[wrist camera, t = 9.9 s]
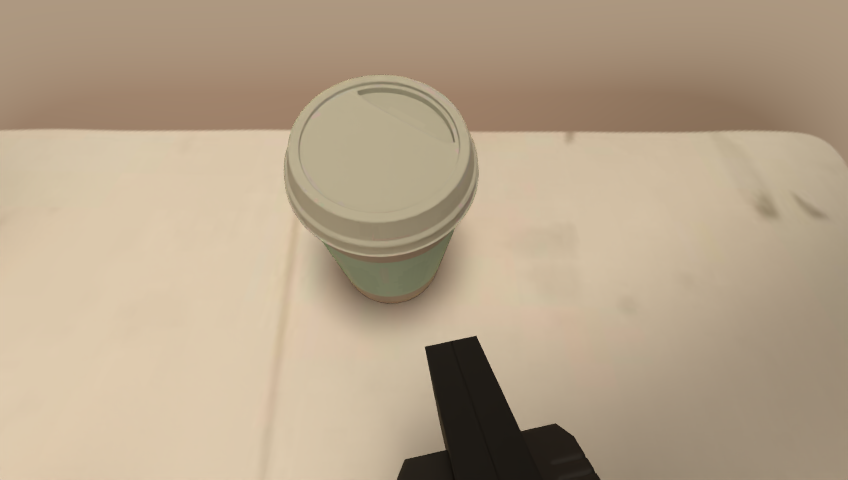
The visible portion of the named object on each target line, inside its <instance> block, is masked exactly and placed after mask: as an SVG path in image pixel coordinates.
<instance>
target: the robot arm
mask: <svg viewBox="0 0 848 480" xmlns="http://www.w3.org/2000/svg"><path fill="white" fill-rule="evenodd" d="M425 350H426V355H427V360H428V365H429V370H430V375H431V380H432V385H433V390H434V395H435V400H436V406H437V411H438V416H439V421H440V426H441V430H442V435H443V439H444V444H445V448H446V450H444V451H440V452H436V453H431V454H427V455H423V456H418V457H414V458H410V459H405V460H404V463H403V465H402V468H401V471H400V473H399V476H398V478H397V480H600V478H599V477H598V475H597V473H595V471H594V469H593V467H592V465H591V464H590V462H589V460H588V459H587V458H586V457H585V454H584V452H583V451H582V449H581V447H580V446H579V444H578V443H577V441H576V439H575V438H574V436H572V435H571V434H570V433H568V432H567V431H565V430H564V429H563V428H561V427H560V426H559V425H557V424H556V423H555V424H551V425H547V426H542V427H538V428H534V429H529V430H525V431H520V429H519V427H518V425H517V422H516V420H515V418H514V416H513V414H512V412H511V410H510V407H509V405H508V403H507V401H506V399H505V397H504V395H503V392H502V390H501V388H500V386H499V384H498V382H497V379H496V377H495V375H494V373H493V371H492V369H491V367H490V364H489V362H488V360H487V358H486V356H485V354H484V351H483V349H482V347H481V345H480V343H479V341H478V339H477V336H473V337H469V338H464V339H459V340H455V341H450V342H445V343H441V344H436V345H432V346H427V347H425Z"/></svg>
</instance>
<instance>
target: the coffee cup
mask: <svg viewBox="0 0 848 480" xmlns="http://www.w3.org/2000/svg"><path fill="white" fill-rule="evenodd" d="M478 177H479V170H478V159H477V153H476V148H475V145H474V142H473V139H472V137H471V135H470V133H469V131H468V129H467V126H466V123H465V121H464V119H463V117H462V116H461V114H460V112H459V111H458V109H457V108H456V107H455V106H454V105H453V103H452V102H451V101H450V100H449V99H447V98H446V97H445V96H444V95H443V94H441V93H440V92H439V91H437V90H435V89H434V88H432V87H430V86H428V85H426V84H424V83H422V82H419V81H416V80H413V79H410V78H406V77H401V76H393V75H369V76H361V77H357V78H353V79H349V80H346V81H343V82H341V83H338V84H336V85H334V86H332V87H330V88H328V89H326V90H325V91H323V92H322V93H320V94H319V95H318V96H316V97H315V98H314V99H313V100H312V101H311V102H310V103H309V104H308V105H307V106H306V107H305V108H304V109H303V110H302V112H301V113H300V114H299V116H298V118H297V119H296V121H295V123H294V125H293V127H292V130H291V133H290V136H289V142H288V147H287V151H286V155H285V160H284V178H285V188H286V193H287V197H288V200H289V203H290V205H291V207H292V209H293V211H294V213H295V215H296V216H297V218H298V219H299V220H300V222H301V223H302V224H303V225H304V226H305V227H306V228H307V229H308V230H309V231H310V232H311V233H312V234H313V235H314V236H316V237H317V238H318V239H320V240H321V241H322V242H323V243H324V245H325V246H326V247H327V249H328V250H329V252H330V253H331V254H332V256H333V257H334V259H335V260H336V261H337V263H338V264H339V266H340V267H341V268H342V270H343V271H344V273H345V274H346V275H347V277H348V278H349V279H350V281H351V282H352V284H353V285H354V286H355V287H356V288H357V290H358V291H360V292H361V293H362V294H363V295H365V296H366V297H368V298H370V299H372V300H375V301H378V302H383V303H399V302H404V301H407V300H410V299H412V298H414V297H416V296H417V295H419V294H420V293H422V292H423V291H424V290H425V289H426V288H427V287H428V286H429V285H430V283H431V282H432V280H433V278H434V276H435V274H436V272H437V269H438V267H439V265H440V262H441V260H442V258H443V255H444V253H445V250H446V248H447V246H448V243H449V241H450V239H451V236H452V234H453V232H454V229H455V227H456V226H457V225H458V223H459V222H460V221H461V220H462V219H463V217H464V216H465V215H466V213H467V212H468V210H469V208H470V206H471V204H472V202H473V200H474V197H475V194H476V190H477V186H478Z"/></svg>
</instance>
